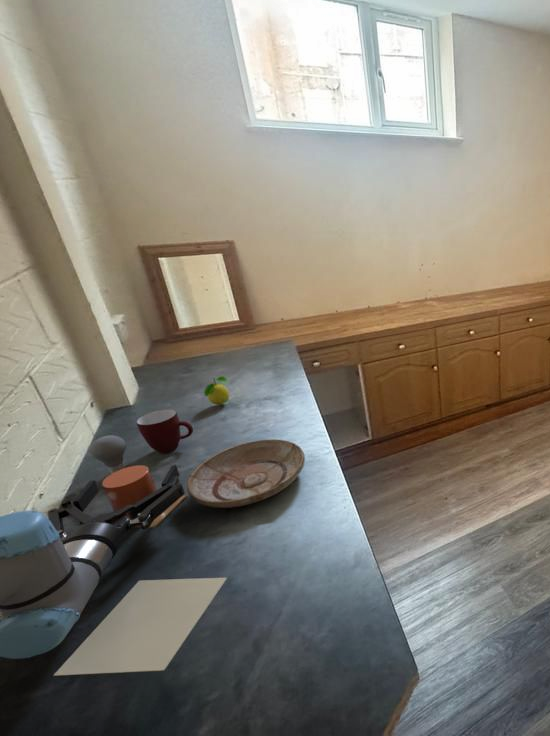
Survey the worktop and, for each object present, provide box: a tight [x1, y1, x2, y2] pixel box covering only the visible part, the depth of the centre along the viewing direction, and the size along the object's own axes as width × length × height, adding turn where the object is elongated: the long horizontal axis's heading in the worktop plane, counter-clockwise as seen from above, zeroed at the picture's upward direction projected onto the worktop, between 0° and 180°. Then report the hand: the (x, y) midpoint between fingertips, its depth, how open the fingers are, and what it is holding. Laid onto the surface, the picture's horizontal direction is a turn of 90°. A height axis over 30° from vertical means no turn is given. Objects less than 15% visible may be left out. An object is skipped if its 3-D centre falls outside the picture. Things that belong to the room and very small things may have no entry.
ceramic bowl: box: [186, 438, 306, 509], centre depth 94 cm, size 23×24×5 cm
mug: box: [136, 408, 194, 454], centre depth 106 cm, size 10×8×10 cm
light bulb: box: [90, 434, 127, 475], centre depth 96 cm, size 6×6×10 cm
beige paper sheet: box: [53, 577, 228, 677], centre depth 64 cm, size 15×15×1 cm
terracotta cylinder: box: [101, 464, 158, 518], centre depth 83 cm, size 7×7×10 cm
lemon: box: [204, 376, 230, 406], centre depth 128 cm, size 7×6×10 cm
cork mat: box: [137, 494, 187, 528], centre depth 85 cm, size 11×11×1 cm
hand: (136, 477), depth 85 cm, fingers open, 13 cm apart
